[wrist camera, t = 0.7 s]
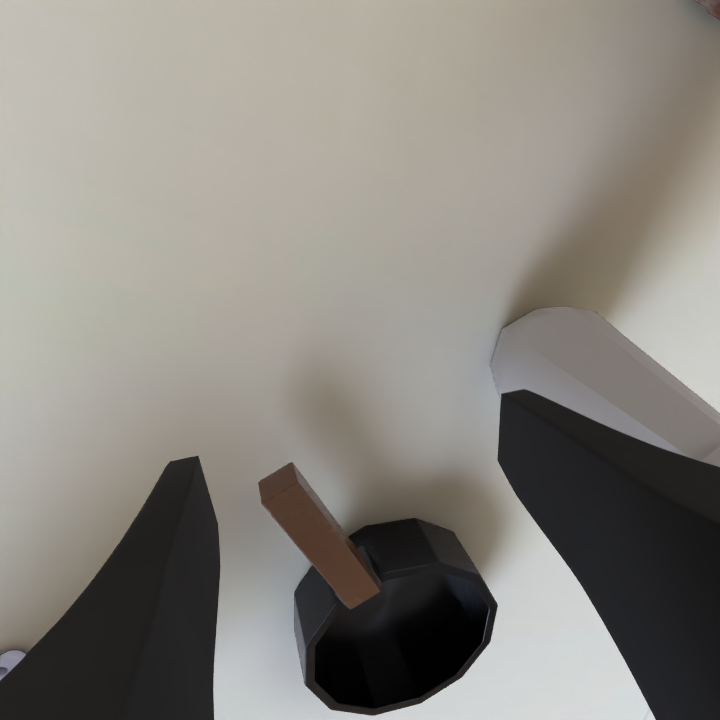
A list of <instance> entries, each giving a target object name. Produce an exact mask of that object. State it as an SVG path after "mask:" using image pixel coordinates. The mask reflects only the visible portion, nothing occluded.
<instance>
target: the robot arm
mask: <svg viewBox="0 0 720 720" xmlns="http://www.w3.org/2000/svg"><path fill="white" fill-rule="evenodd" d="M498 462H499V464H500V466H501V468H502V470H503V471H504V473H505V475H506V477H507V479H508V481H509V483H510V485H511V486H512V488H513V490H514V492H515V493H516V495H517V497H518V498H519V499H520V501H521V502H522V504H523V505H524V506H525V508H526V509H527V511H528V512H529V513H530V515H531V516H532V517H533V519H534V520H535V522H536V523H537V524H538V526H539V527H540V528H541V530H542V531H543V532H544V534H545V535H546V536H547V538H548V539H549V541H550V542H551V543H552V545H553V546H554V547H555V549H556V550H557V551H558V553H559V554H560V555H561V557H562V558H563V560H564V561H565V562H566V564H567V565H568V566H569V568H570V569H571V570H572V572H573V573H574V575H575V576H576V578H577V579H578V581H579V582H580V584H581V585H582V587H583V589H584V590H585V592H586V594H587V595H588V597H589V599H590V600H591V602H592V604H593V605H594V607H595V609H596V610H597V612H598V614H599V616H600V617H601V619H602V621H603V622H604V624H605V626H606V628H607V629H608V631H609V633H610V635H611V636H612V638H613V640H614V642H615V644H616V645H617V647H618V649H619V651H620V653H621V654H622V656H623V658H624V660H625V662H626V663H627V665H628V667H629V669H630V671H631V673H632V675H633V677H634V679H635V680H636V682H637V684H638V686H639V688H640V690H641V692H642V694H643V696H644V698H645V700H646V701H647V703H648V705H649V707H650V709H651V711H652V713H653V715H654V717H655V719H656V720H720V467H718V466H715V465H712V464H708V463H705V462H701V461H698V460H695V459H692V458H689V457H686V456H683V455H680V454H677V453H674V452H671V451H668V450H665V449H663V448H660V447H657V446H654V445H652V444H649V443H647V442H644V441H642V440H639V439H637V438H634V437H632V436H629V435H627V434H624V433H622V432H620V431H617V430H615V429H613V428H610V427H608V426H606V425H603V424H601V423H599V422H597V421H595V420H592V419H590V418H588V417H586V416H584V415H582V414H579V413H577V412H575V411H573V410H571V409H569V408H567V407H565V406H562V405H560V404H558V403H556V402H554V401H552V400H550V399H547V398H545V397H543V396H541V395H539V394H536V393H534V392H531V391H529V390H526V389H521V390H516V391H511V392H507V393H502V394H501V408H500V426H499V445H498ZM219 579H220V550H219V533H218V522H217V519H216V516H215V512H214V509H213V505H212V502H211V498H210V495H209V491H208V488H207V484H206V481H205V478H204V474H203V471H202V467H201V464H200V460H199V457H198V456H195V457H190V458H185V459H180V460H175V461H170V462H169V463H168V465H167V466H166V467H165V469H164V471H163V473H162V474H161V476H160V478H159V480H158V482H157V483H156V485H155V487H154V489H153V490H152V492H151V494H150V495H149V497H148V499H147V500H146V502H145V504H144V505H143V507H142V509H141V510H140V512H139V513H138V515H137V517H136V518H135V520H134V521H133V523H132V525H131V526H130V528H129V529H128V531H127V532H126V534H125V535H124V537H123V538H122V540H121V541H120V543H119V544H118V546H117V547H116V548H115V550H114V551H113V553H112V554H111V555H110V557H109V558H108V560H107V561H106V562H105V564H104V565H103V567H102V568H101V570H100V571H99V572H98V574H97V575H96V576H95V577H94V579H93V580H92V581H91V583H90V584H89V585H88V586H87V588H86V589H85V590H84V591H83V593H82V594H81V595H80V596H79V598H78V599H77V600H76V601H75V602H74V604H73V605H72V606H71V607H70V608H69V610H68V611H67V612H66V613H65V614H64V615H63V617H62V618H61V619H60V620H59V621H58V622H57V623H56V624H55V625H54V626H53V627H52V628H51V629H50V630H49V631H48V633H47V634H46V635H45V636H44V637H43V638H42V639H41V640H40V641H39V642H38V643H37V644H36V645H35V646H34V647H33V648H32V649H31V650H30V651H29V652H28V653H27V655H26V654H25V653H23V652H21V651H18V650H12V651H8V652H6V653H4V654H2V655H1V656H0V720H214V703H213V673H214V654H215V639H216V624H217V610H218V595H219ZM2 667H3V668H2Z"/></svg>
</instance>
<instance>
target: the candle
mask: <svg viewBox="0 0 720 720" xmlns="http://www.w3.org/2000/svg"><path fill="white" fill-rule="evenodd" d="M695 1H696V2H698V3H699V4H701V5H702V6H704V7H705V8H706V9H707V11H708V12H709V13H710V14H712V15H714V16H715V17H716V18H718V19H719V20H720V0H695Z"/></svg>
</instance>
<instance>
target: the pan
mask: <svg viewBox="0 0 720 720" xmlns="http://www.w3.org/2000/svg"><path fill="white" fill-rule="evenodd" d="M258 484H259V490H260V496H261V502H262V505H263V506H264V507H265V508H266V509H267V511H268V512H269V513H270V514H271V515H272V517H273V518H274V519H275V520H276V521H277V523H278V524H279V525H280V526H281V527H282V529H283V530H284V531H285V532H286V533H287V535H288V536H289V537H290V538H291V539H292V541H293V542H294V543H295V544H296V545H297V547H298V548H299V549H300V550H301V551H302V553H303V554H304V555H305V556H306V557H307V558H308V560H309V561H310V562H311V563H312V564H313V566H312V567H311V569H310V570H309V572H308V573H307V575H306V576H305V578H304V579H303V580H302V582H301V583H300V585H299V586H298V588H297V589H296V591H295V593H294V631H295V636H296V641H297V647H298V652H299V657H300V663H301V668H302V673H303V678H304V684H305V686H307V687H308V688H309V689H310V690H311V691H312V692H313V693H314V694H315V695H316V696H317V697H318V698H319V699H320V700H321V701H322V702H323V703H324V704H325V705H326V706H327V707H328V708H330V709H331V710H336V711H343V712H350V713H357V714H365V715H378V714H381V713H385V712H389V711H393V710H397V709H401V708H405V707H409V706H413V705H416V704H420V703H422V702H423V701H425V700H427V699H428V698H430V697H431V696H433V695H435V694H436V693H438V692H439V691H441V690H443V689H444V688H446V687H447V686H449V685H450V684H452V683H454V682H455V681H457V680H458V679H460V678H461V677H462V676H463V675H464V674H465V673H466V672H467V670H468V669H469V668H470V667H471V665H472V664H473V663H474V662H475V660H476V659H477V658H478V657H479V655H480V654H481V653H482V652H483V650H484V649H485V648H486V647H487V645H488V644H489V643H490V640H491V636H492V631H493V626H494V621H495V616H496V612H497V607H498V605H497V602H496V601H495V599H494V597H493V596H492V594H491V592H490V590H489V589H488V587H487V585H486V584H485V582H484V580H483V578H482V577H481V575H480V573H479V572H478V570H477V569H476V567H475V565H474V564H473V562H472V561H471V559H470V557H469V556H468V554H467V553H466V551H465V549H464V548H463V546H462V545H461V543H460V541H459V540H458V538H457V537H456V535H455V534H454V532H452V531H450V530H447V529H444V528H441V527H438V526H436V525H433V524H430V523H427V522H425V521H422V520H419V519H416V518H413V519H407V520H401V521H394V522H388V523H381V524H375V525H368V526H365V527H363V528H362V529H360V530H358V531H357V532H355V533H353V534H352V535H350V536H349V537H348V536H347V535H346V533H345V532H344V531H343V529H342V528H341V526H340V525H339V524H338V522H337V521H336V520H335V518H334V517H333V516H332V514H331V513H330V512H329V510H328V509H327V508H326V506H325V505H324V504H323V502H322V501H321V500H320V498H319V497H318V496H317V494H316V493H315V492H314V490H313V489H312V488H311V486H310V485H309V484H308V482H307V481H306V480H305V478H304V477H303V476H302V474H301V473H300V472H299V470H298V469H297V468H296V466H295V465H294V464H293V463H292V462H291V463H289V464H287V465H286V466H284V467H282V468H281V469H279V470H277V471H276V472H274V473H272V474H271V475H269V476H267V477H266V478H264V479H262V480H261V481H259V483H258Z"/></svg>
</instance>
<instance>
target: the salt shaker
mask: <svg viewBox="0 0 720 720" xmlns="http://www.w3.org/2000/svg"><path fill="white" fill-rule="evenodd" d="M490 366H491V370H492V374H493V378H494V382H495V386H496V390H497V392H498V394H499V397H500V399H501V394H502V393H507V392H511V391H516V390H521V389H526V390H529V391H531V392H534V393H536V394H539V395H541V396H543V397H545V398H547V399H550V400H552V401H554V402H556V403H558V404H560V405H562V406H565V407H567V408H569V409H571V410H573V411H575V412H577V413H579V414H582V415H584V416H586V417H588V418H590V419H592V420H595V421H597V422H599V423H601V424H603V425H606V426H608V427H610V428H613V429H615V430H617V431H620V432H622V433H624V434H627V435H629V436H632V437H634V438H637V439H639V440H642V441H644V442H647V443H649V444H652V445H654V446H657V447H660V448H663V449H665V450H668V451H671V452H674V453H677V454H680V455H683V456H686V457H689V458H692V459H695V460H698V461H701V462H705V463H708V464H712V465H715V466H718V467H720V413H719V412H718V411H717V410H715V409H714V408H713V407H712V406H710V405H709V404H708V403H707V402H705V401H704V400H703V399H702V398H700V397H699V396H698V395H697V394H696V393H694V392H693V391H692V390H691V389H689V388H688V387H687V386H686V385H684V384H683V383H682V382H681V381H679V380H678V379H677V378H676V377H675V376H673V375H672V374H671V373H670V372H668V371H667V370H666V369H665V368H663V367H662V366H661V365H660V364H658V363H657V362H656V361H655V360H654V359H652V358H651V357H650V356H649V355H647V354H646V353H645V352H644V351H642V350H641V349H640V348H639V347H637V346H636V345H635V344H634V343H633V342H631V341H630V340H629V339H628V338H626V337H625V336H624V335H623V334H621V333H620V332H619V331H618V330H617V329H616V328H614V327H613V326H612V325H611V324H610V323H609V322H607V321H606V320H605V319H604V318H603V317H602V316H600V315H599V314H598V313H597V312H594V311H590V310H585V309H578V308H571V307H565V306H561V307H552V308H542V309H534V310H533V311H531V312H529V313H528V314H526V315H524V316H523V317H521V318H519V319H518V320H516V321H514V322H513V323H511V324H509V325H508V326H506V327H504V328H503V329H501V332H500V335H499V339H498V342H497V345H496V348H495V351H494V355H493V358H492V361H491V364H490Z"/></svg>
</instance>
